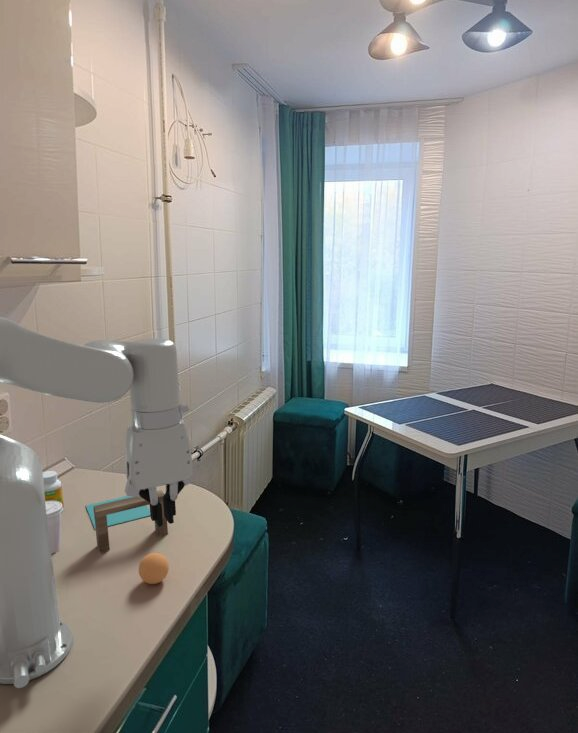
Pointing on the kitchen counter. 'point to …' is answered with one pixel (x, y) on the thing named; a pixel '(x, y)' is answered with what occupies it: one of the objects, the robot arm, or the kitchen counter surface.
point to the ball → (153, 568)
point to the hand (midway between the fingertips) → (163, 520)
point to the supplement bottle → (52, 487)
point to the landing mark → (120, 513)
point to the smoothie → (54, 524)
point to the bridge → (118, 506)
